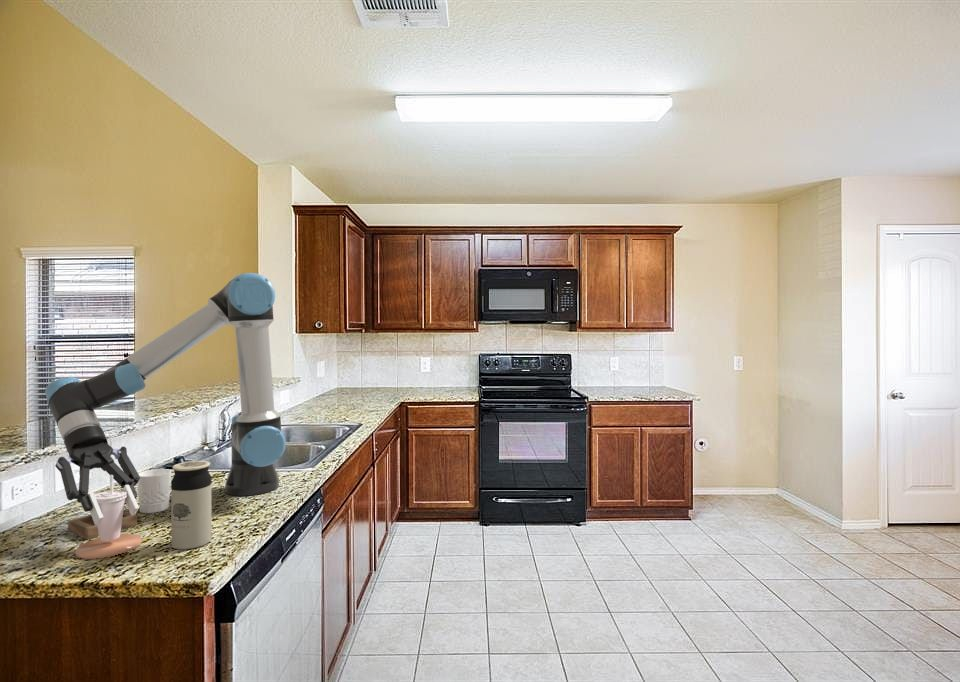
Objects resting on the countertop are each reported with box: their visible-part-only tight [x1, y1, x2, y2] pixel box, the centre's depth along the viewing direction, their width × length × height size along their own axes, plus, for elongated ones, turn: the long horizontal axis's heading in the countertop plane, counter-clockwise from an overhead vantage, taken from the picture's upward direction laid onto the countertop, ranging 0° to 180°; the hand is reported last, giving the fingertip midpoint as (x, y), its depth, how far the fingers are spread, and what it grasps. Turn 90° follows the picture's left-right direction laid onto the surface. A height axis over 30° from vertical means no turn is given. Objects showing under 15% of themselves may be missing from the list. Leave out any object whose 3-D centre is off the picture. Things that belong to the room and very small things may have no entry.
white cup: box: [136, 468, 172, 514], centre depth 141 cm, size 8×8×10 cm
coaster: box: [75, 533, 143, 560], centre depth 115 cm, size 12×12×1 cm
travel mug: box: [170, 460, 212, 550], centre depth 118 cm, size 8×8×18 cm
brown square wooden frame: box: [67, 510, 138, 540], centre depth 127 cm, size 10×10×2 cm
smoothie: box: [94, 475, 127, 541], centre depth 115 cm, size 6×6×14 cm
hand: (117, 516), depth 113 cm, fingers closed on smoothie, 6 cm apart
